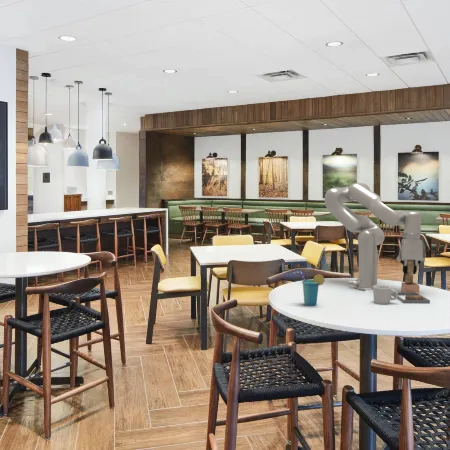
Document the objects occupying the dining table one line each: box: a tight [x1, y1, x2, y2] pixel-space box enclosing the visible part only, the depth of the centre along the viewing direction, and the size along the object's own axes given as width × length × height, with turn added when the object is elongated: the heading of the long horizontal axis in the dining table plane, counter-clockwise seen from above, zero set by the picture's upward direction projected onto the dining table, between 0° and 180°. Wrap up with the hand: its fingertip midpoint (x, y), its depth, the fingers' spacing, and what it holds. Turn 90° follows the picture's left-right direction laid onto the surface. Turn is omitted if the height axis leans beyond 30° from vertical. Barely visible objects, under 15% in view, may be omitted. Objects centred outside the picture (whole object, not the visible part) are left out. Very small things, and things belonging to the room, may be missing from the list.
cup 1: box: [293, 270, 325, 307], centre depth 209 cm, size 14×8×15 cm, turn 78°
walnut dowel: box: [404, 294, 424, 300], centre depth 213 cm, size 7×3×3 cm
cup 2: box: [372, 284, 399, 305], centre depth 210 cm, size 11×8×8 cm
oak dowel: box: [404, 260, 414, 285], centre depth 230 cm, size 4×4×12 cm
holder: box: [401, 281, 420, 294], centre depth 230 cm, size 6×6×6 cm
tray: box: [391, 291, 431, 305], centre depth 218 cm, size 12×16×2 cm
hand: (409, 273), depth 230 cm, fingers closed on oak dowel, 3 cm apart
